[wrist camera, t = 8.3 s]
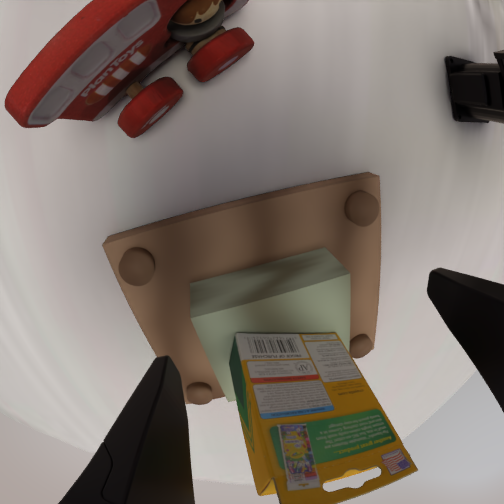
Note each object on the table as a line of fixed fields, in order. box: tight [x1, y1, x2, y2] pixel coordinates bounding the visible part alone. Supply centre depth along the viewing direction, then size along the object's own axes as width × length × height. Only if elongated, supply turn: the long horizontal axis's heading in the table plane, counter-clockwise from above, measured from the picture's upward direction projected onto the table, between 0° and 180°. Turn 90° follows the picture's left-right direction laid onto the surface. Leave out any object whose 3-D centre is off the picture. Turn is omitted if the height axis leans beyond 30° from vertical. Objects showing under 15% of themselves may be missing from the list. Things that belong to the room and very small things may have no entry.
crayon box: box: [229, 332, 418, 504], centre depth 14 cm, size 7×3×12 cm, turn 79°
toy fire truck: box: [5, 0, 254, 138], centre depth 10 cm, size 7×12×10 cm, turn 128°
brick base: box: [103, 172, 381, 405], centre depth 21 cm, size 20×18×6 cm
